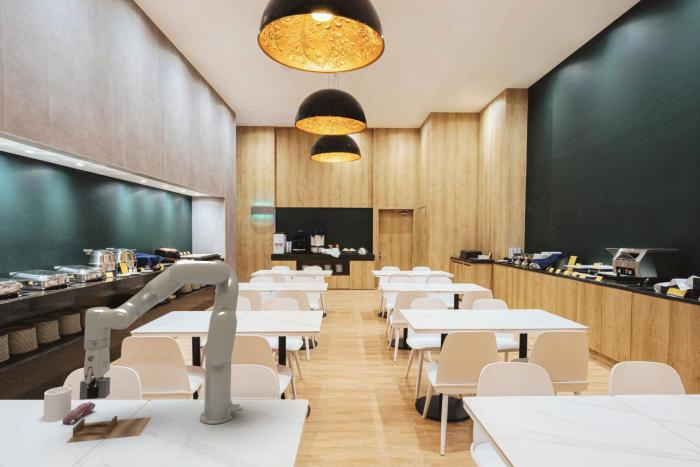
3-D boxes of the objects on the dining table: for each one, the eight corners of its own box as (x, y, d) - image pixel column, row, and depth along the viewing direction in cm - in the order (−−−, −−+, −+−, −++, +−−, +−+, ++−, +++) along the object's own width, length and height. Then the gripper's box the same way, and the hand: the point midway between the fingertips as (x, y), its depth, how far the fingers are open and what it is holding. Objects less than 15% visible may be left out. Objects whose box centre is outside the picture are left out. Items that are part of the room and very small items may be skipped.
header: (151, 419, 143) (151, 408, 143) (139, 438, 129) (140, 426, 129) (85, 425, 138) (85, 414, 138) (65, 445, 124) (66, 433, 124)
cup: (81, 407, 153) (82, 382, 153) (61, 421, 141) (62, 394, 141) (59, 408, 152) (60, 383, 152) (38, 422, 140) (38, 395, 140)
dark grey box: (109, 394, 135) (110, 376, 135) (105, 398, 132) (106, 379, 132) (84, 395, 133) (85, 377, 134) (79, 399, 130) (80, 381, 130)
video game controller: (69, 429, 138) (77, 413, 138) (60, 423, 139) (67, 406, 139) (92, 417, 148) (99, 401, 147) (83, 411, 149) (90, 395, 148)
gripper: (99, 349, 126) (97, 405, 125) (117, 337, 142) (115, 386, 142) (73, 350, 124) (71, 406, 124) (95, 337, 140) (93, 387, 140)
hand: (95, 395), depth 133 cm, fingers closed on dark grey box, 3 cm apart
